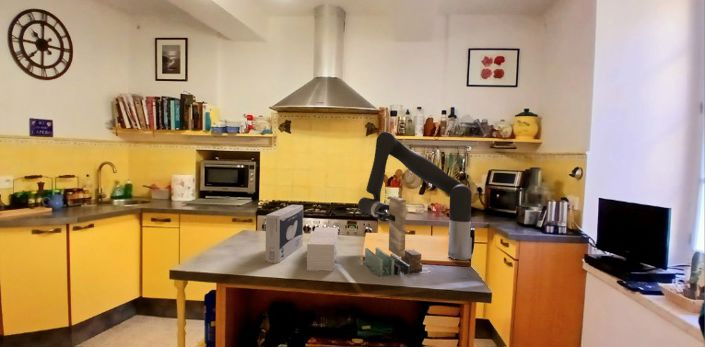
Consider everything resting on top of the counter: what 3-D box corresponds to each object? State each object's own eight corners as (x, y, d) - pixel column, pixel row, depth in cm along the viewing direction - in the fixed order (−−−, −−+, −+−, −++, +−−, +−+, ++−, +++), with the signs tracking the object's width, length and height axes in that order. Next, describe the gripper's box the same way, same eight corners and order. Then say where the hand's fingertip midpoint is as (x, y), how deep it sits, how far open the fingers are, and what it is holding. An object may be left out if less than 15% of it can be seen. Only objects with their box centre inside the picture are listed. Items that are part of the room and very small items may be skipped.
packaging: (278, 263, 155) (279, 215, 154) (265, 261, 156) (265, 215, 155) (302, 245, 185) (303, 205, 183) (291, 244, 186) (291, 204, 185)
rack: (412, 262, 160) (413, 245, 159) (432, 275, 144) (432, 256, 143) (363, 266, 153) (363, 248, 153) (377, 280, 137) (378, 260, 136)
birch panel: (394, 249, 152) (395, 196, 151) (404, 256, 143) (405, 199, 141) (388, 250, 152) (389, 196, 150) (398, 256, 142) (399, 200, 140)
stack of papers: (333, 271, 147) (334, 244, 146) (306, 270, 147) (307, 244, 146) (337, 249, 179) (337, 227, 178) (315, 249, 179) (315, 227, 178)
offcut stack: (412, 262, 155) (412, 248, 154) (422, 269, 146) (422, 254, 146) (400, 263, 153) (401, 249, 153) (410, 270, 145) (410, 255, 144)
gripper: (366, 203, 159) (381, 210, 143) (396, 202, 164) (414, 208, 147) (366, 220, 160) (381, 229, 143) (396, 219, 164) (414, 227, 148)
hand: (398, 218), depth 145 cm, fingers closed on birch panel, 2 cm apart
